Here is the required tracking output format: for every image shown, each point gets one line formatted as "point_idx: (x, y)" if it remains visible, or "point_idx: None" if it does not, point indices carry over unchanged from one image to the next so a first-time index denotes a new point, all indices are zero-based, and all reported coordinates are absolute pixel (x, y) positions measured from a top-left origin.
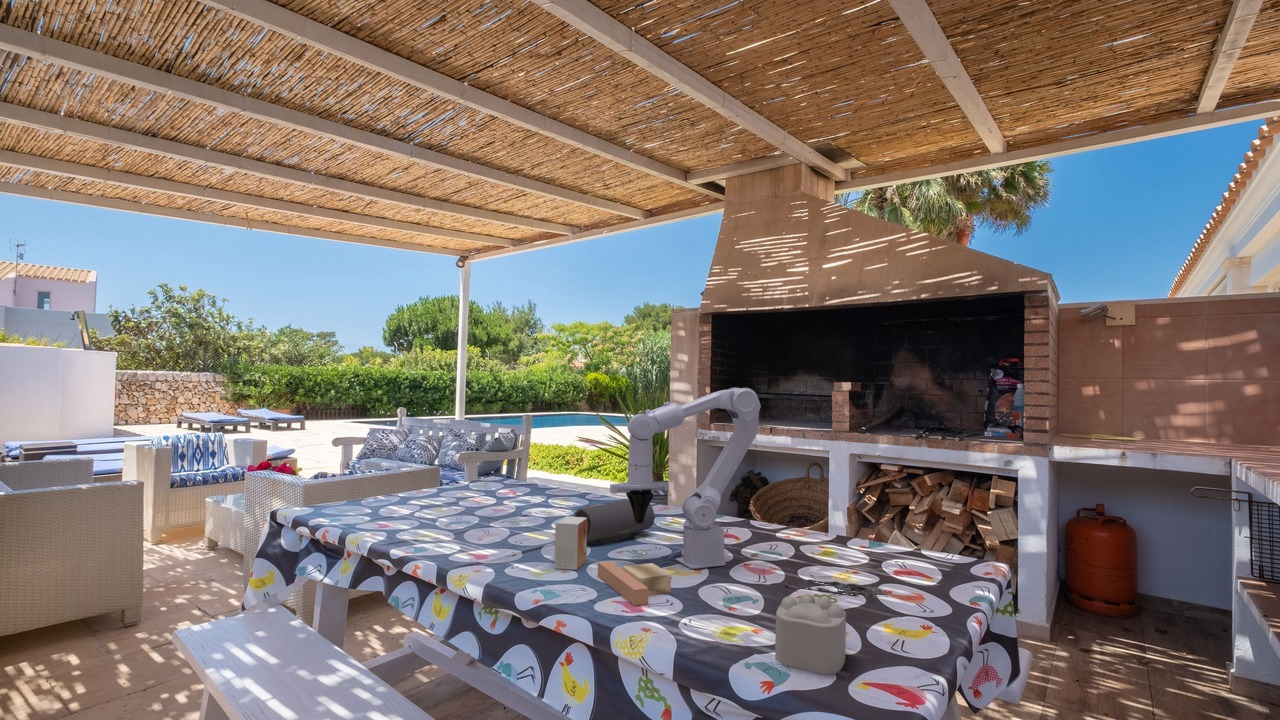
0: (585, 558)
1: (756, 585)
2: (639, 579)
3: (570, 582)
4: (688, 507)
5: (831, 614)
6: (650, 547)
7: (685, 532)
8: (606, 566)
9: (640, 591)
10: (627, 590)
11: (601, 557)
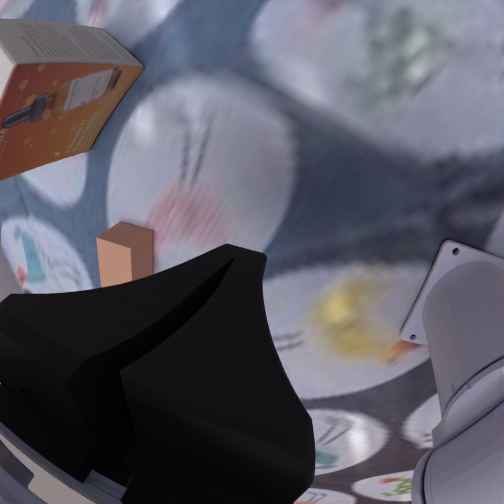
0: (129, 76)
1: (400, 444)
2: None
3: (62, 227)
4: (479, 479)
5: None
6: (486, 31)
7: (449, 375)
8: (106, 282)
9: None
10: None
11: (217, 36)
